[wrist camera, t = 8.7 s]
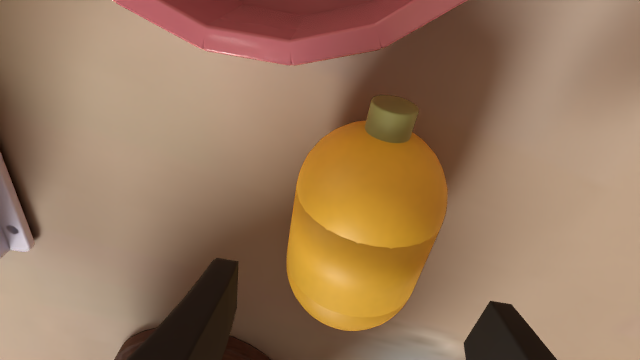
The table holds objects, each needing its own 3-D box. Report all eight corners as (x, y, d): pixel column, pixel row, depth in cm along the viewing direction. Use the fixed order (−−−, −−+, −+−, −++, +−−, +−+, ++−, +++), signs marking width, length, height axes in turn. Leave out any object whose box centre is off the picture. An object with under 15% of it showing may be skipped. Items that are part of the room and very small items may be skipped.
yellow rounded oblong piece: (391, 267, 18) (405, 368, 14) (288, 251, 18) (271, 348, 13) (457, 88, 13) (511, 160, 9) (315, 64, 13) (301, 126, 8)
